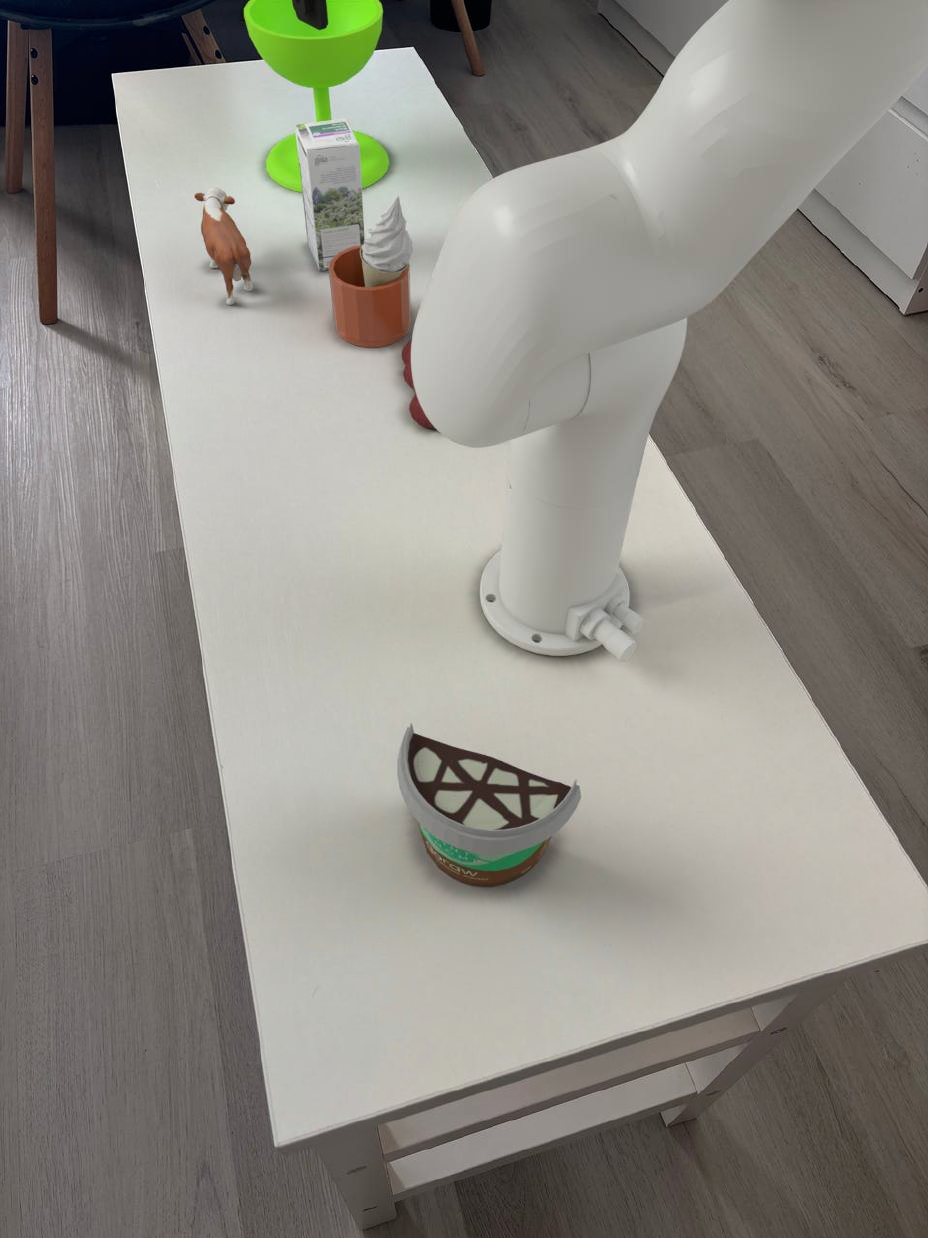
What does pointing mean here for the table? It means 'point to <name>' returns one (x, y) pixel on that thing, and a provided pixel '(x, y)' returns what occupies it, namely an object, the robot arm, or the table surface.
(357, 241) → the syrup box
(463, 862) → the food container
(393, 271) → the ice cream cone
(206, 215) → the bull figurine
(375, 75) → the table surface
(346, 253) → the holder cup
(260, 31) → the wineglass
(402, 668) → the table surface
